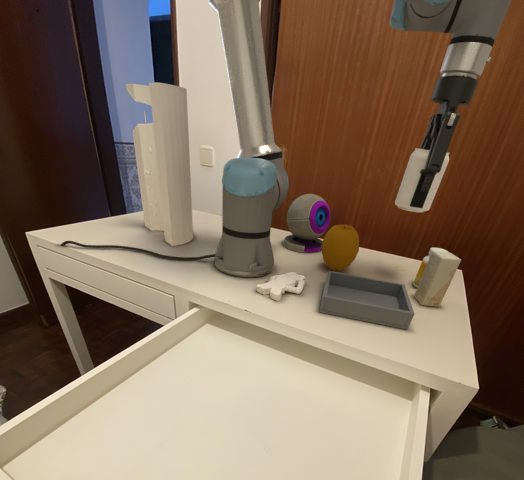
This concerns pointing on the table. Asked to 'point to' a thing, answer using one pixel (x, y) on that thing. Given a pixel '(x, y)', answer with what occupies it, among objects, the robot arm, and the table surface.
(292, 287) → the white abstract figurine
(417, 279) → the supplement bottle
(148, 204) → the white tall block
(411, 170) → the beverage can
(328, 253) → the apple
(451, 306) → the table surface
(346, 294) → the tray
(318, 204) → the webcam
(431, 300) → the box
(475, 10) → the robot arm
